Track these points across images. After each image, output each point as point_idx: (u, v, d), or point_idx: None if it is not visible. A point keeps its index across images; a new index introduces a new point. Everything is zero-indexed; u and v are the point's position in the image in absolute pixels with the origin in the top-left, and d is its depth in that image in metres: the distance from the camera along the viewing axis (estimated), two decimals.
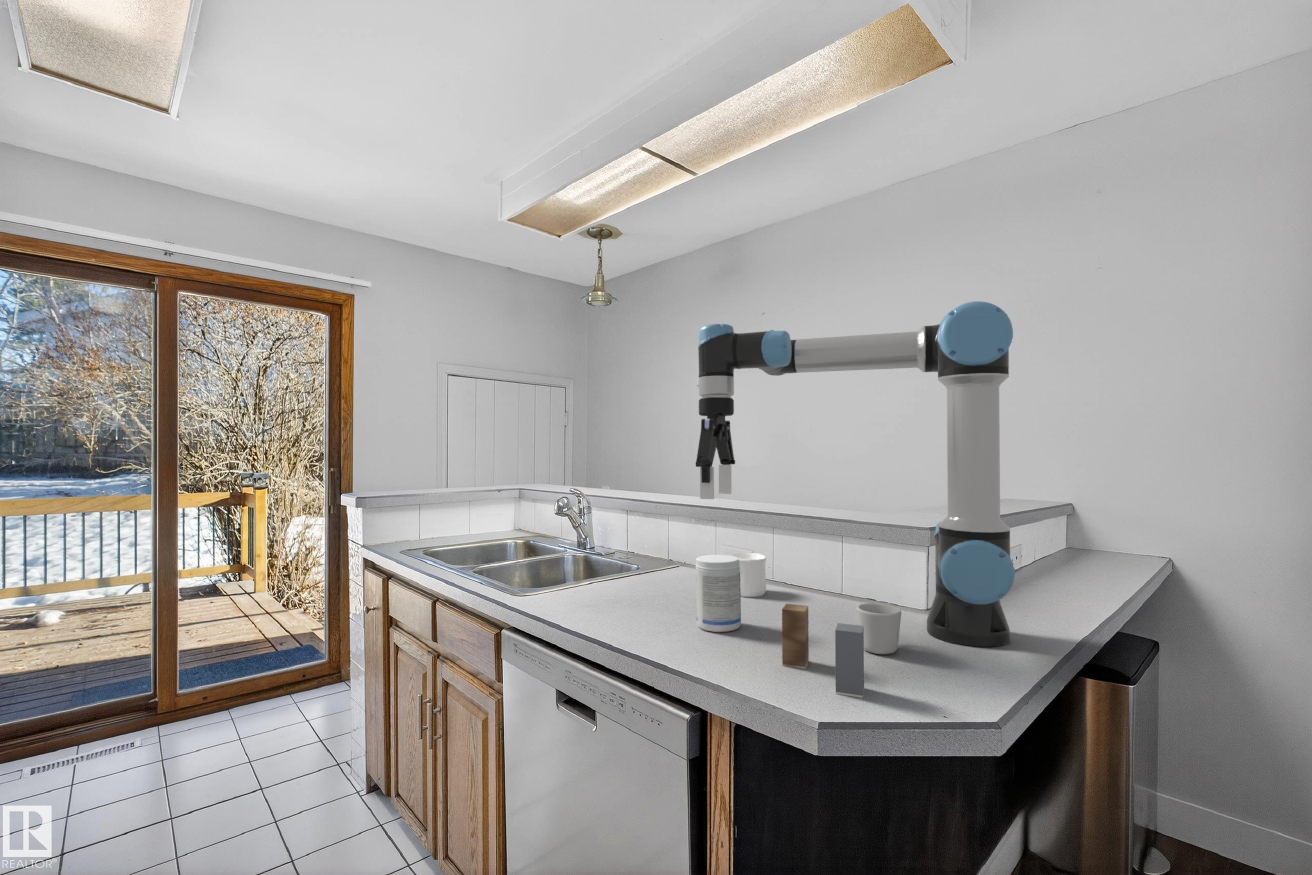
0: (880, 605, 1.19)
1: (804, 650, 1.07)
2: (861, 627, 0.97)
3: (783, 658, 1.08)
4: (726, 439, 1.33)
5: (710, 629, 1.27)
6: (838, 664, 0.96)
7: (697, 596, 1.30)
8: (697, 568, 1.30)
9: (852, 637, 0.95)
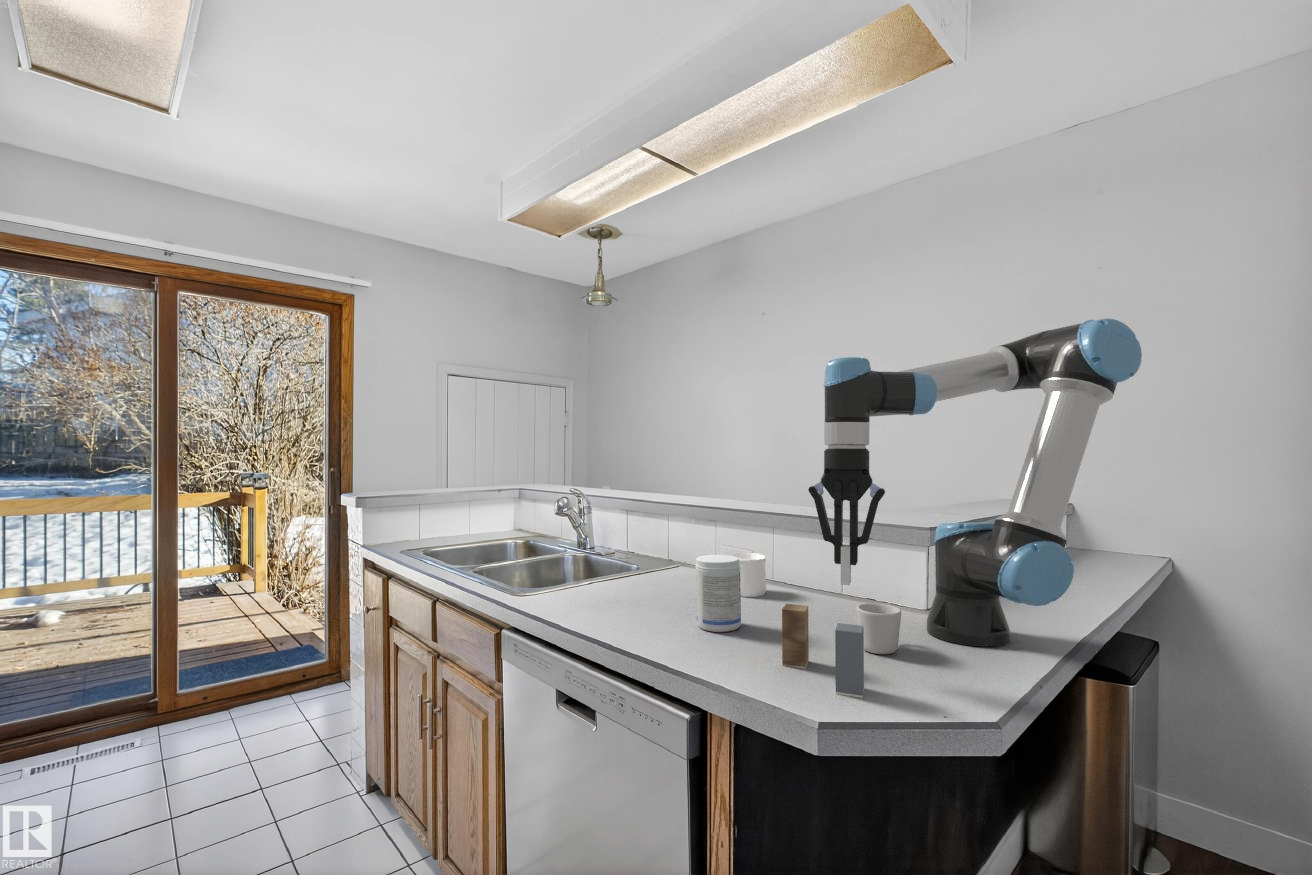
0: (880, 605, 1.19)
1: (804, 650, 1.07)
2: (861, 627, 0.97)
3: (783, 658, 1.08)
4: None
5: (710, 629, 1.27)
6: (838, 664, 0.96)
7: (697, 596, 1.30)
8: (697, 568, 1.30)
9: (852, 637, 0.95)
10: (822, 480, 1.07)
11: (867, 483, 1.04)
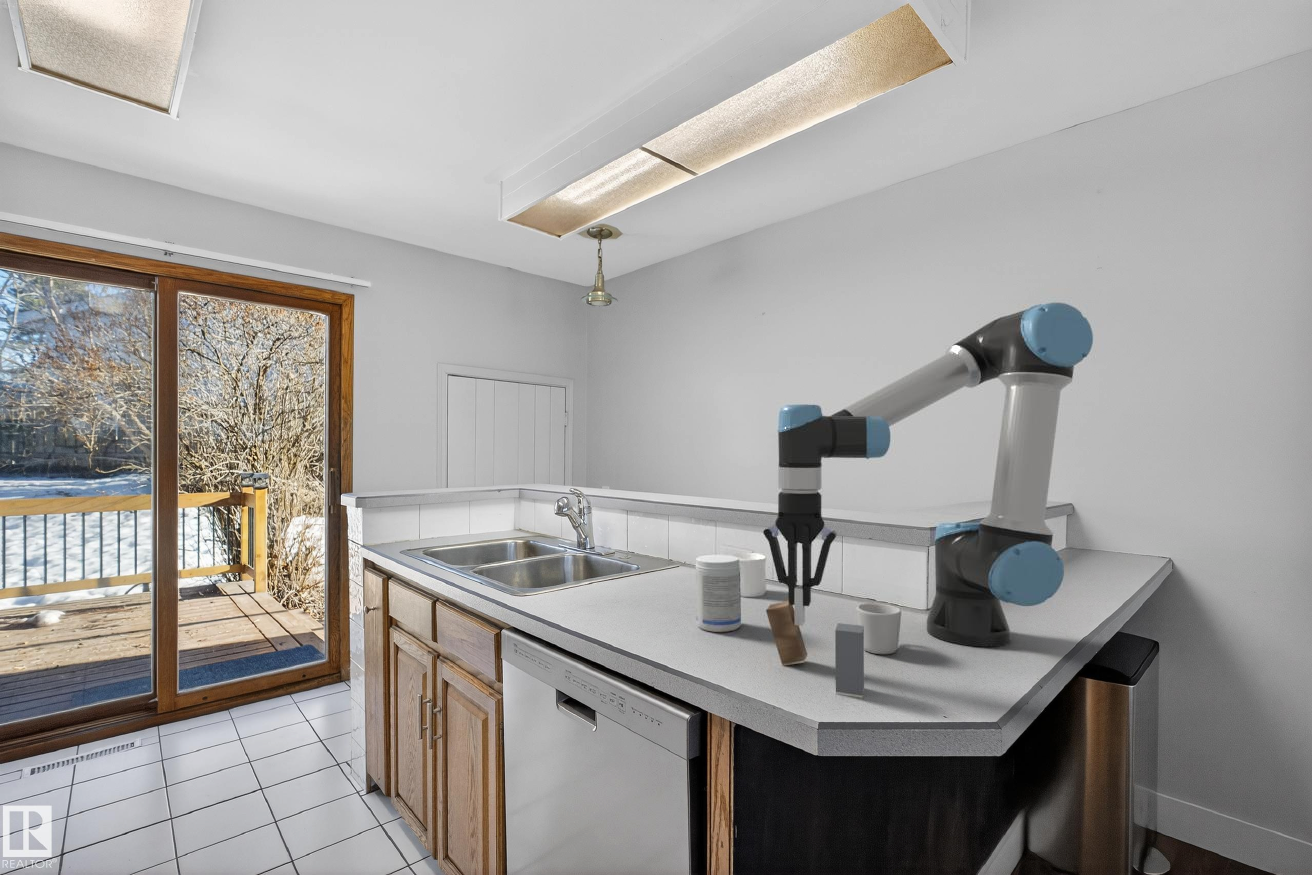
0: (880, 605, 1.19)
1: (798, 644, 1.07)
2: (861, 627, 0.97)
3: (781, 658, 1.08)
4: (802, 545, 1.07)
5: (710, 629, 1.27)
6: (838, 664, 0.96)
7: (697, 596, 1.30)
8: (697, 568, 1.30)
9: (852, 637, 0.95)
10: (776, 523, 1.10)
11: (819, 527, 1.07)
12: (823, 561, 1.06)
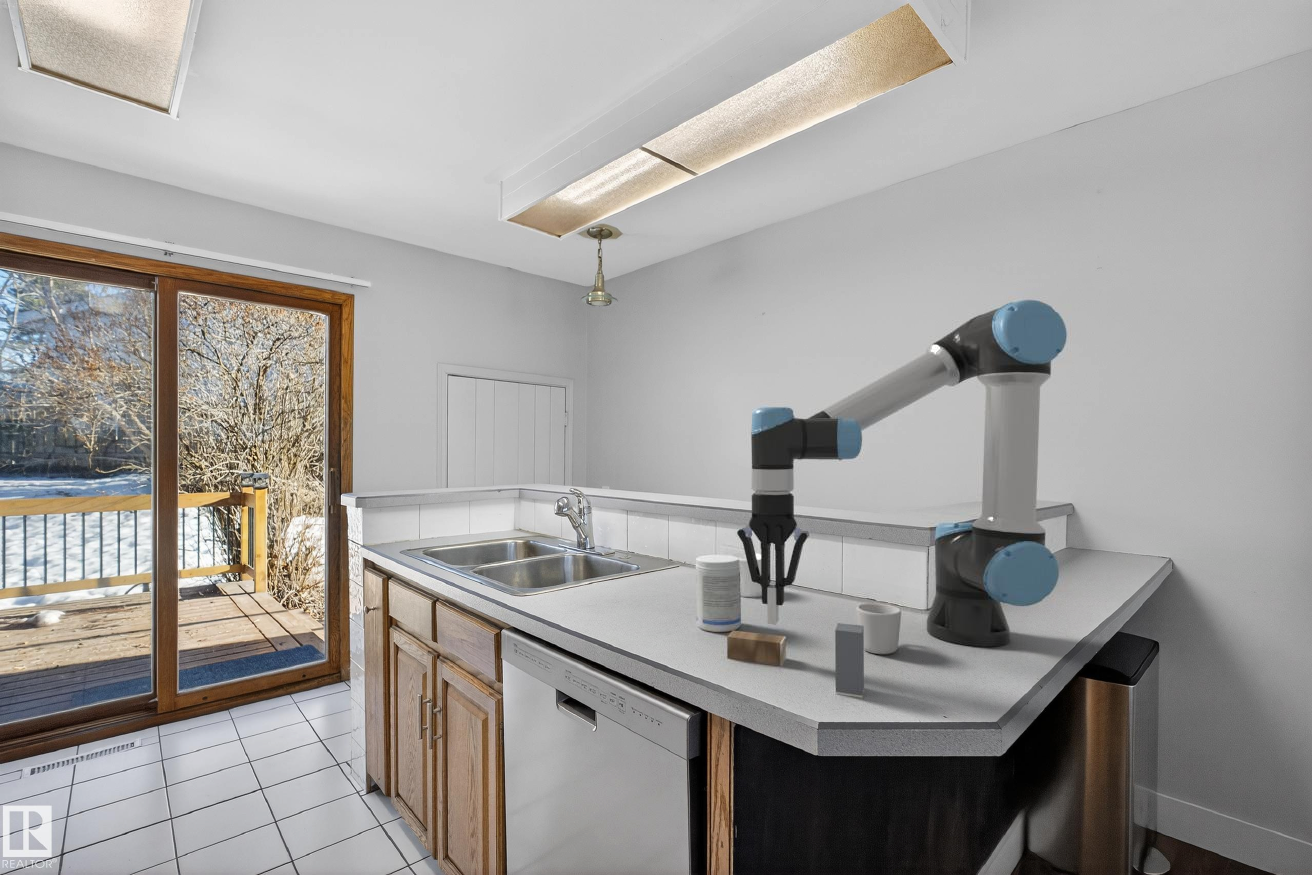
0: (880, 605, 1.19)
1: (764, 641, 1.09)
2: (861, 627, 0.97)
3: (774, 663, 1.09)
4: (775, 545, 1.09)
5: (710, 629, 1.27)
6: (838, 664, 0.96)
7: (697, 596, 1.30)
8: (697, 568, 1.30)
9: (852, 637, 0.95)
10: (750, 524, 1.12)
11: (791, 527, 1.09)
12: (795, 561, 1.08)
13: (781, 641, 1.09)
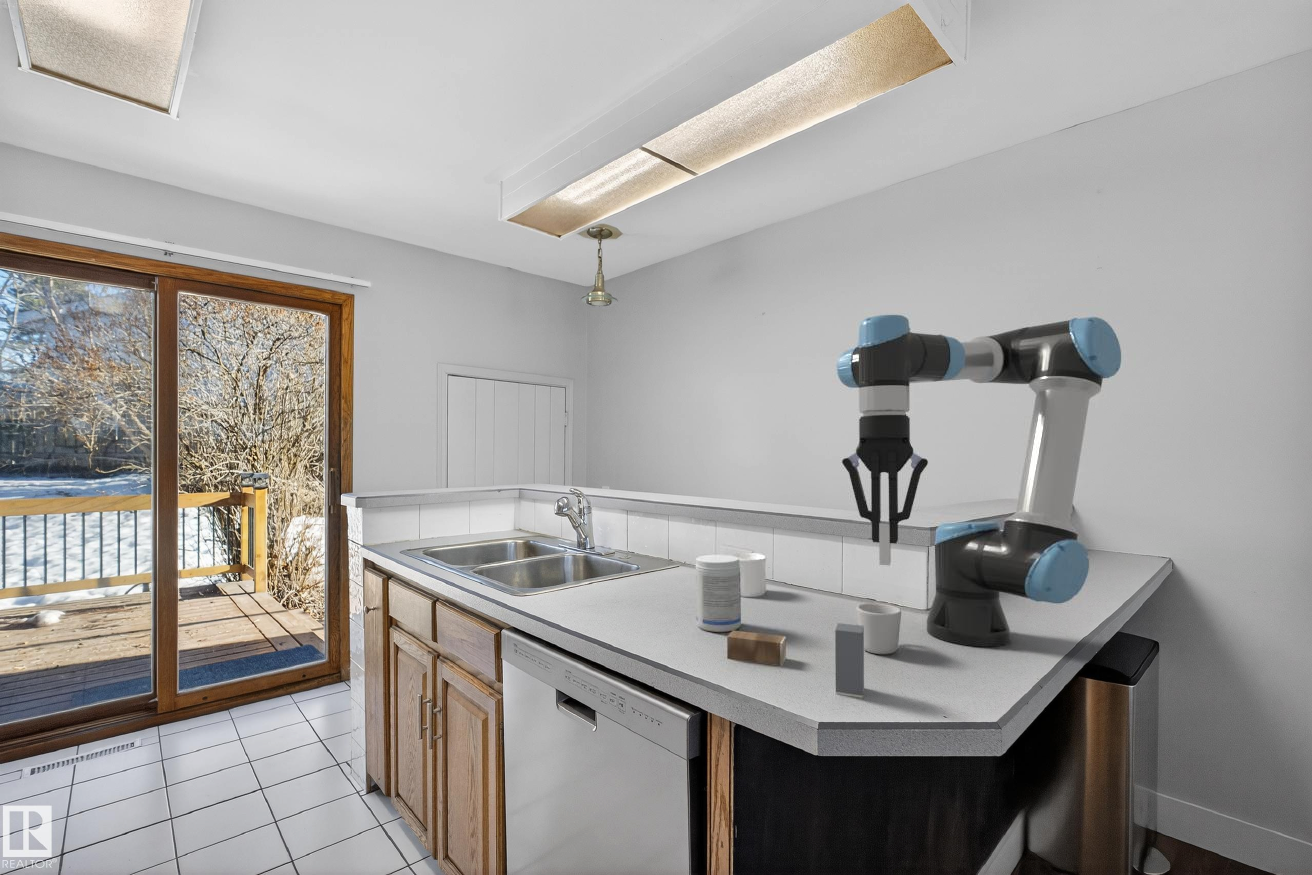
0: (880, 605, 1.19)
1: (764, 641, 1.09)
2: (861, 627, 0.97)
3: (774, 663, 1.09)
4: None
5: (710, 629, 1.27)
6: (838, 664, 0.96)
7: (697, 596, 1.30)
8: (697, 568, 1.30)
9: (852, 637, 0.95)
10: (857, 451, 0.98)
11: (908, 453, 0.94)
12: (913, 491, 0.94)
13: (781, 641, 1.09)
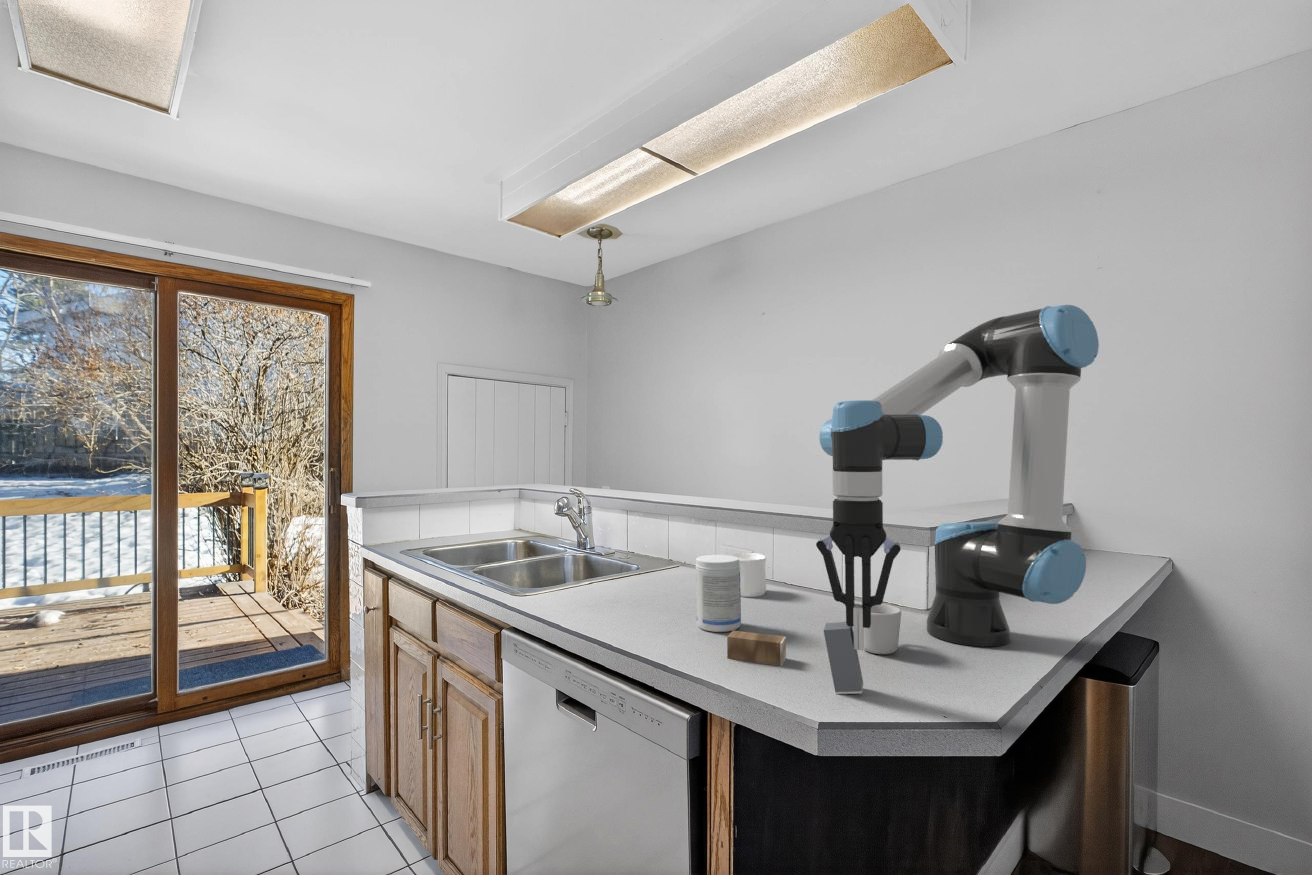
0: (880, 605, 1.19)
1: (764, 641, 1.09)
2: None
3: (774, 663, 1.09)
4: (862, 559, 0.95)
5: (710, 629, 1.27)
6: (833, 664, 0.96)
7: (697, 596, 1.30)
8: (697, 568, 1.30)
9: (841, 634, 0.96)
10: (831, 534, 0.97)
11: (881, 538, 0.95)
12: (886, 577, 0.94)
13: (781, 641, 1.09)
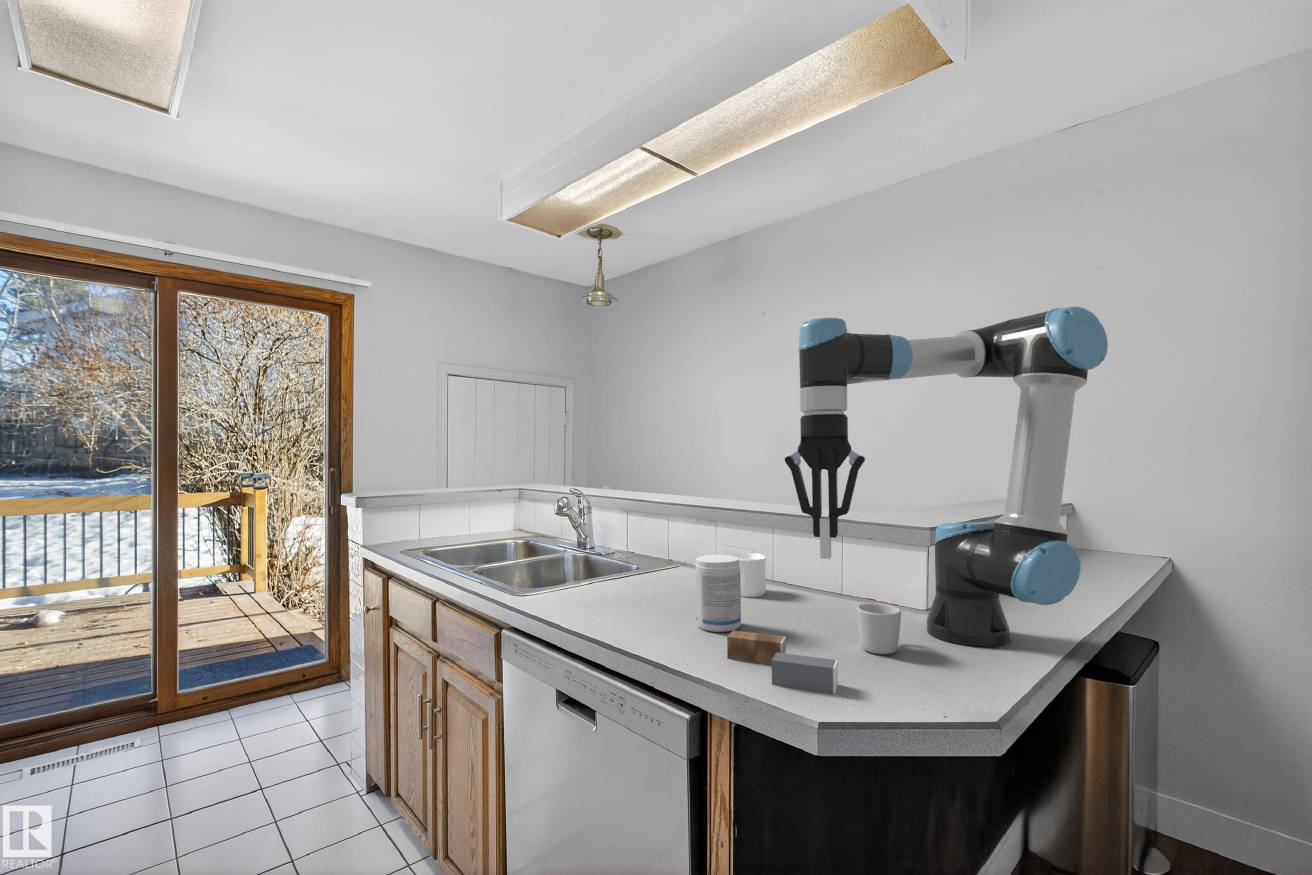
0: (880, 605, 1.19)
1: (764, 641, 1.09)
2: (775, 655, 1.03)
3: None
4: (828, 471, 0.99)
5: (710, 629, 1.27)
6: (805, 686, 0.98)
7: (697, 596, 1.30)
8: (697, 568, 1.30)
9: (777, 669, 1.00)
10: (799, 449, 1.01)
11: (846, 450, 0.98)
12: (851, 487, 0.98)
13: (781, 641, 1.09)
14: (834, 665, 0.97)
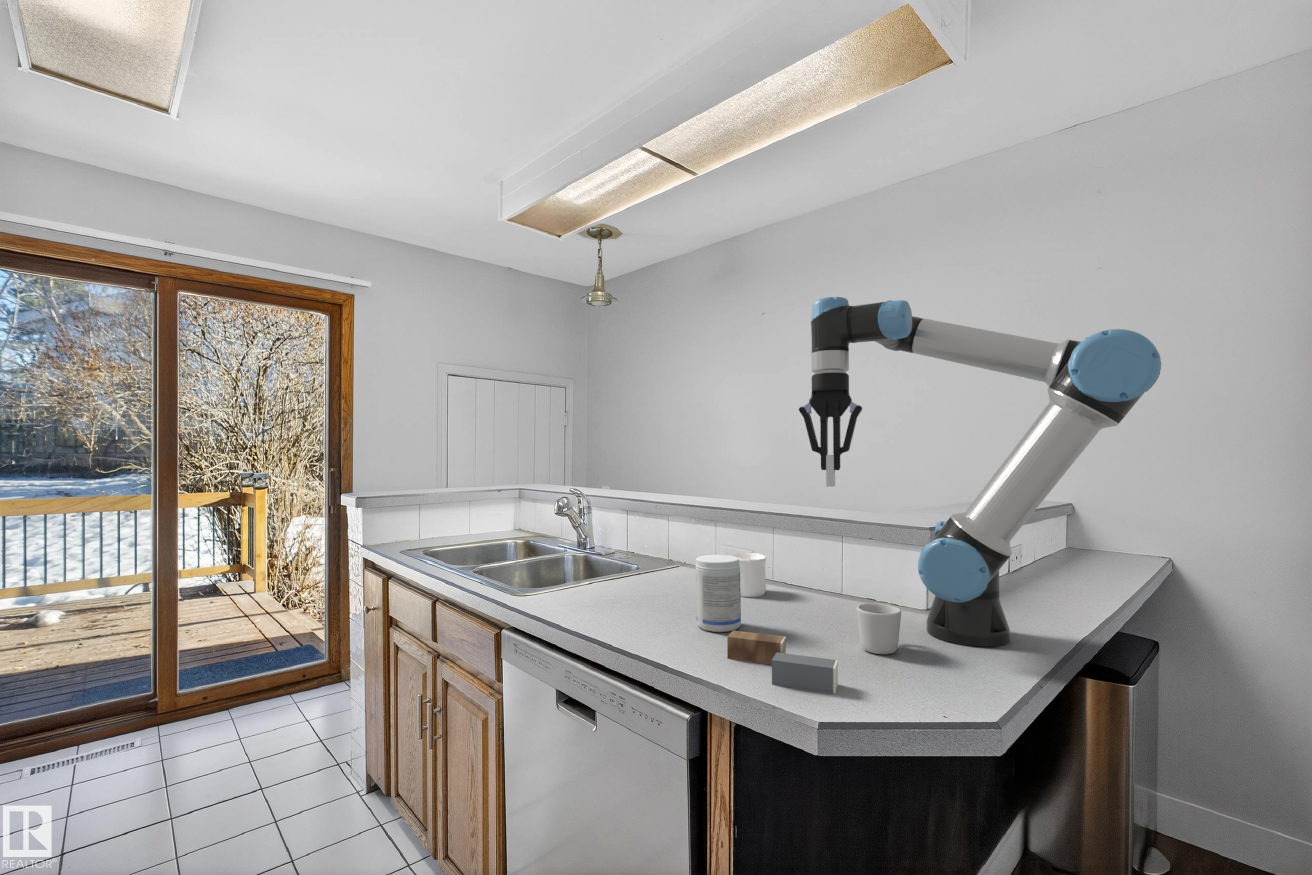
0: (880, 605, 1.19)
1: (764, 641, 1.09)
2: (775, 655, 1.03)
3: None
4: (833, 417, 1.26)
5: (710, 629, 1.27)
6: (805, 686, 0.98)
7: (697, 596, 1.30)
8: (697, 568, 1.30)
9: (777, 669, 1.00)
10: (810, 401, 1.28)
11: (847, 401, 1.25)
12: (851, 430, 1.25)
13: (781, 641, 1.09)
14: (834, 665, 0.97)
